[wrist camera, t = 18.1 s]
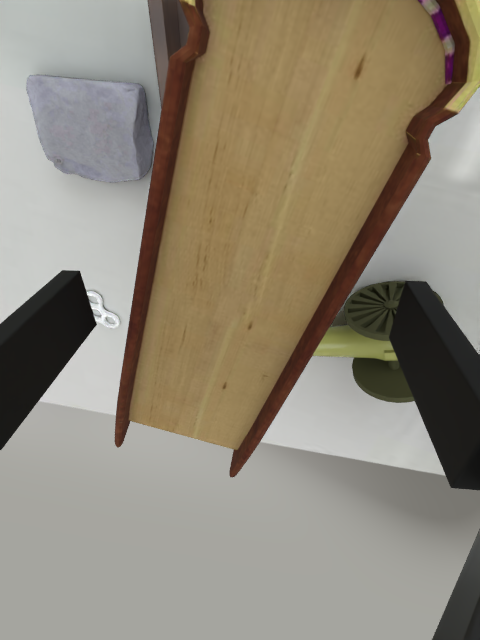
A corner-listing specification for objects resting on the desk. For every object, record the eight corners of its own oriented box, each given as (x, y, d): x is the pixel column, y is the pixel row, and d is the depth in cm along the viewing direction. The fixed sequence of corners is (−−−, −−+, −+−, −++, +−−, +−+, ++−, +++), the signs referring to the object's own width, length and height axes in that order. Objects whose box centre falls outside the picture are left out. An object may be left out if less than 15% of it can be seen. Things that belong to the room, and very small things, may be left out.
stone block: (161, 172, 42) (146, 73, 35) (148, 190, 39) (129, 85, 31) (68, 163, 43) (35, 66, 35) (48, 181, 40) (8, 77, 32)
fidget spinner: (79, 323, 55) (76, 326, 54) (69, 288, 51) (66, 291, 50) (122, 327, 54) (120, 330, 54) (115, 292, 51) (113, 295, 50)
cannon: (266, 364, 56) (264, 420, 47) (247, 305, 50) (240, 356, 41) (432, 339, 50) (466, 398, 41) (434, 269, 44) (475, 319, 35)
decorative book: (262, 19, 31) (197, -202, 6) (343, 53, 32) (558, -32, 7) (202, 241, 44) (106, 446, 19) (261, 261, 45) (240, 482, 20)
